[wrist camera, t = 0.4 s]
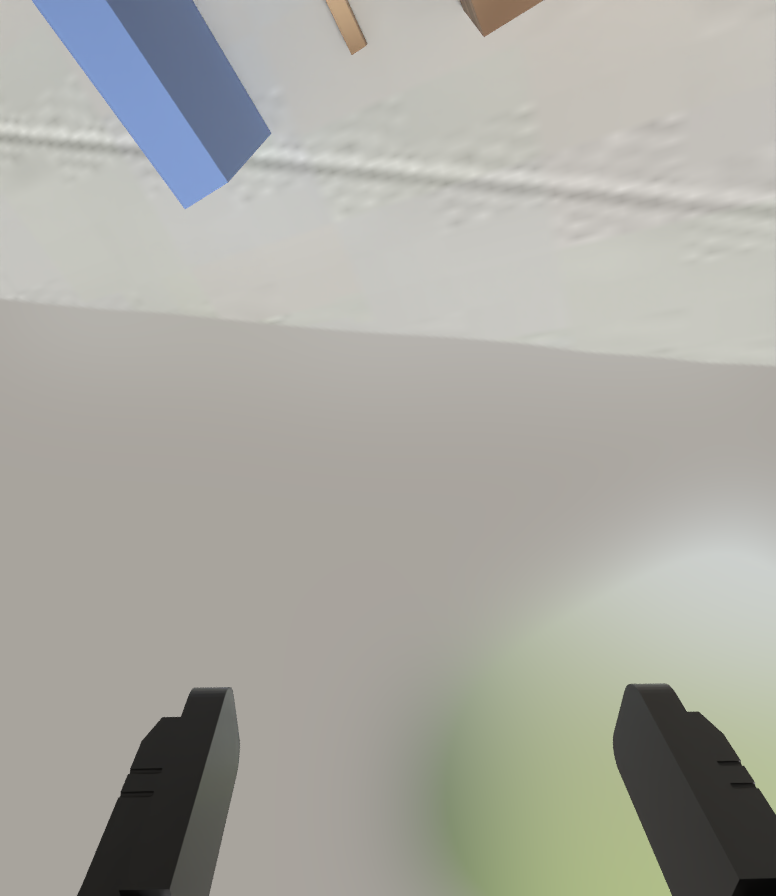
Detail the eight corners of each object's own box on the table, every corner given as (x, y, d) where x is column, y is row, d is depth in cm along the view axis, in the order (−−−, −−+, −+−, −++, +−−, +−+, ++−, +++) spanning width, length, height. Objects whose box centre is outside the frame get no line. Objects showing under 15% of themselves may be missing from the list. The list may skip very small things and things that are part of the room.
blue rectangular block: (101, -55, 26) (-13, -60, 19) (139, -89, 25) (34, -107, 18) (236, 155, 32) (184, 209, 25) (271, 133, 31) (227, 182, 24)
